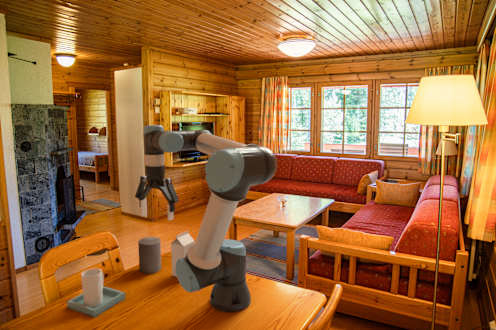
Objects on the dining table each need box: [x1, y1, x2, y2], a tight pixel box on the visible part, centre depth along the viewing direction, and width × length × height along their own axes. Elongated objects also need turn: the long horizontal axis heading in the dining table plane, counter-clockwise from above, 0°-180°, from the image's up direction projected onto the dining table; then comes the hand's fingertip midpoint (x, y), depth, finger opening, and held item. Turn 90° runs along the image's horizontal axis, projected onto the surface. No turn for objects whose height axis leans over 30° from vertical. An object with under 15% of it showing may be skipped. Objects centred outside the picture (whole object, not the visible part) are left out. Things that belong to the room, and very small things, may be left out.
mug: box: [80, 268, 105, 308], centre depth 129 cm, size 10×7×12 cm, turn 170°
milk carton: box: [170, 230, 195, 278], centre depth 151 cm, size 7×7×19 cm
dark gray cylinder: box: [137, 236, 162, 275], centre depth 157 cm, size 10×10×15 cm
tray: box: [66, 285, 126, 318], centre depth 129 cm, size 14×14×2 cm
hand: (157, 217), depth 139 cm, fingers open, 13 cm apart
